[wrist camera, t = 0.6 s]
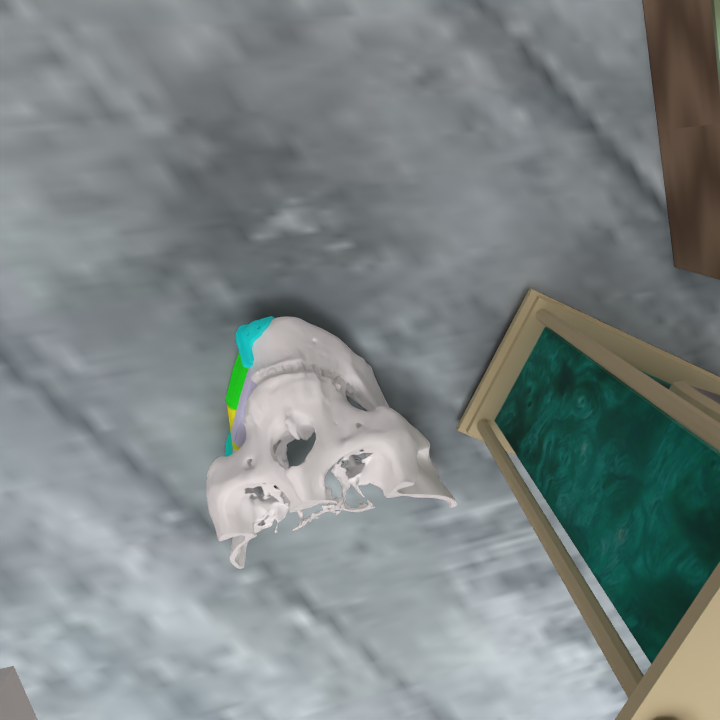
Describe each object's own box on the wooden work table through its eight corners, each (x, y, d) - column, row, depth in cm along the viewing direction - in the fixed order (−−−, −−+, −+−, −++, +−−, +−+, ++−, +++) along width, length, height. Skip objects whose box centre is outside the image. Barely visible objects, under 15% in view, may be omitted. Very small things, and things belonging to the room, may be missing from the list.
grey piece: (385, 267, 32) (444, 454, 28) (408, 350, 40) (457, 506, 35) (147, 341, 33) (167, 535, 28) (215, 408, 41) (239, 568, 36)
